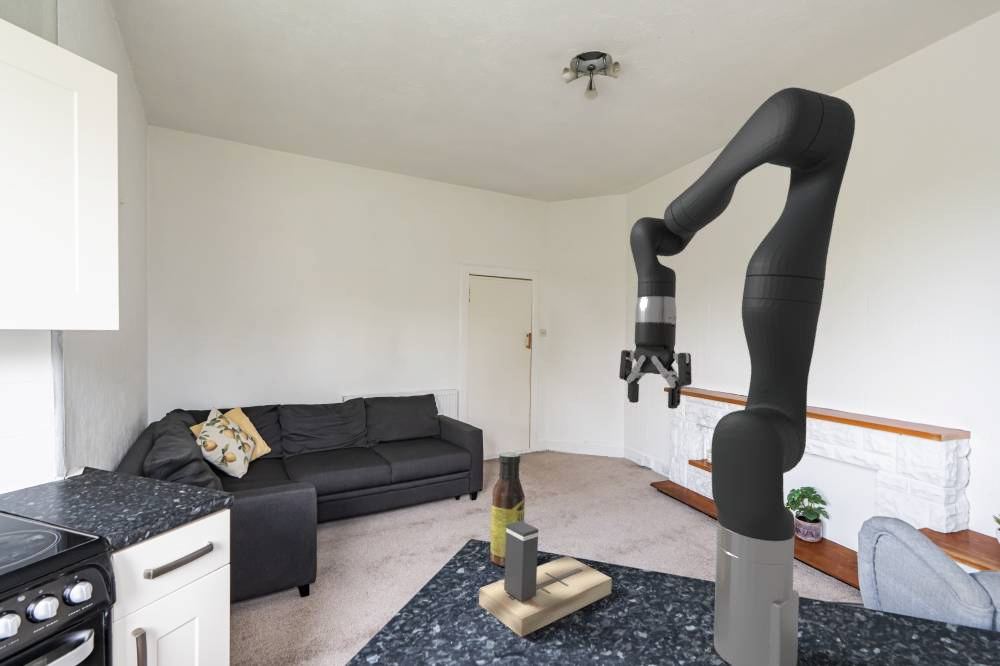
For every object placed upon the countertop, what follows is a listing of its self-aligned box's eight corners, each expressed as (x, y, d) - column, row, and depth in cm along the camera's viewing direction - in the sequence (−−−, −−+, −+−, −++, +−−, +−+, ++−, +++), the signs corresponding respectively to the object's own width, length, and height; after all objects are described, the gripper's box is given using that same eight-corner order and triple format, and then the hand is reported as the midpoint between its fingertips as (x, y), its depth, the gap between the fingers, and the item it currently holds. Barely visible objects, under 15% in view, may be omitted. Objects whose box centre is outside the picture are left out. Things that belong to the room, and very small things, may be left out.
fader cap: (536, 595, 71) (538, 529, 71) (521, 601, 69) (523, 533, 69) (518, 583, 74) (521, 520, 74) (503, 589, 72) (506, 524, 72)
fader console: (611, 593, 78) (611, 577, 78) (521, 637, 65) (521, 618, 65) (566, 569, 85) (567, 555, 86) (478, 604, 73) (479, 587, 73)
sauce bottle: (523, 569, 85) (527, 459, 85) (488, 567, 85) (493, 458, 85) (522, 553, 91) (526, 451, 92) (490, 551, 91) (494, 450, 92)
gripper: (613, 320, 94) (610, 401, 93) (678, 319, 82) (676, 411, 82) (635, 322, 98) (633, 400, 98) (700, 322, 87) (697, 409, 87)
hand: (652, 405), depth 90 cm, fingers open, 8 cm apart
